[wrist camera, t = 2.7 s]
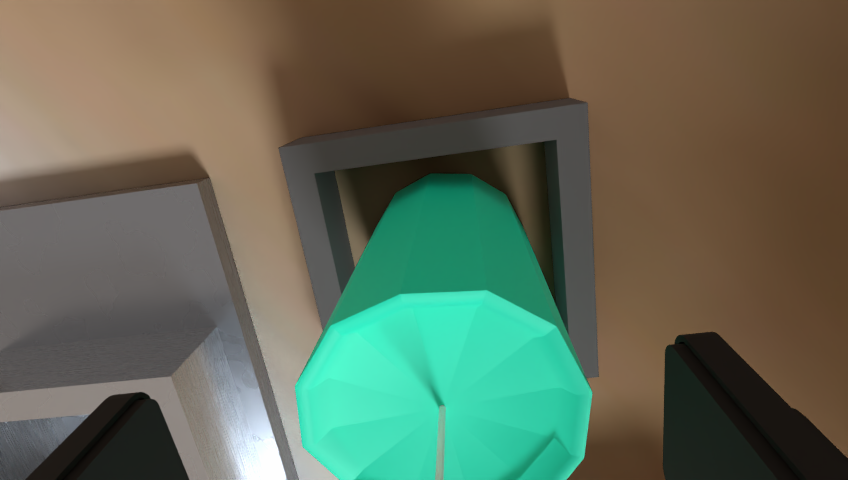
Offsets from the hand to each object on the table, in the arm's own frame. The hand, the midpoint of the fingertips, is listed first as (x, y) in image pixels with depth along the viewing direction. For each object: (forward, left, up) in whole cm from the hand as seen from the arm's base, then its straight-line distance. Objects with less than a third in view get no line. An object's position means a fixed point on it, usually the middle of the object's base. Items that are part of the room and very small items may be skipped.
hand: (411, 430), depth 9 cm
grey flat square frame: (0, +1, -11) cm, 11 cm away
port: (+15, +8, -11) cm, 20 cm away
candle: (0, +1, -11) cm, 11 cm away
